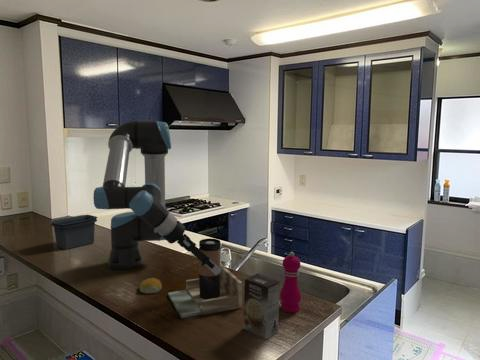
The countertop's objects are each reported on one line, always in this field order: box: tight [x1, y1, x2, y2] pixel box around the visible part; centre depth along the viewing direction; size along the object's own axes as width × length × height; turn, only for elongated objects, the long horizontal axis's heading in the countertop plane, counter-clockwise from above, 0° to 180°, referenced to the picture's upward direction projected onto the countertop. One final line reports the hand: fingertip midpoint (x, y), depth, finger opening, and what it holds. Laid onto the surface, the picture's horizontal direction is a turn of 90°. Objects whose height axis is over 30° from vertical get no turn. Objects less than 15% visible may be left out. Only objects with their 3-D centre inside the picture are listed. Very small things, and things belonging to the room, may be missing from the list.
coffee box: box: [243, 273, 281, 340], centre depth 111 cm, size 9×6×16 cm
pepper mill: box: [279, 251, 302, 314], centre depth 126 cm, size 7×7×20 cm
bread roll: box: [139, 277, 163, 295], centre depth 142 cm, size 8×9×4 cm
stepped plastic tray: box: [167, 263, 243, 319], centre depth 131 cm, size 20×21×9 cm
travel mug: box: [198, 238, 222, 300], centre depth 132 cm, size 8×8×20 cm
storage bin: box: [50, 214, 98, 250], centre depth 197 cm, size 21×16×14 cm
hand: (211, 265), depth 132 cm, fingers open, 13 cm apart
